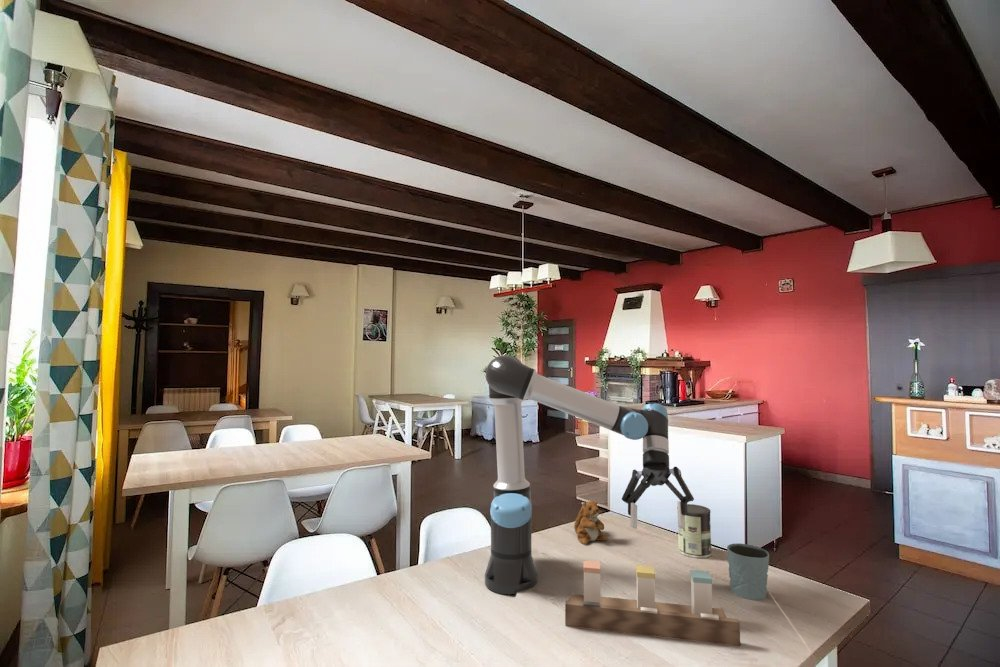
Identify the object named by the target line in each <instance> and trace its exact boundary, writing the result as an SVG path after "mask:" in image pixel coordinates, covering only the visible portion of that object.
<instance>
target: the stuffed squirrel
mask: <svg viewBox="0 0 1000 667" xmlns="http://www.w3.org/2000/svg"><path fill="white" fill-rule="evenodd" d="M598 504H599V502H598V501H597V500H596V501H587V502H585V501H582V502H581V505H582V506H581V508H580V510H579V511H578V514H577V516H576V518H575V521H574V525H573V527H574V532H575V533H576V534H577V535H576V536H577V539H578V540H577V541H578V542H579V543H580V544H582V545H583V544H586V545H587V544H589V542H594V541H599V540H603V541H602V542H606V541H607V540H608V537H607V536H605V535H604V534H602V533H603V531H604V530H605V524H604V523H603V522H602V521H601V520H600V519H599V518H598V517H599V515H600V514H601V516H603V512H602V510H600V509H599V507H598Z"/></svg>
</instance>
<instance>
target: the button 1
mask: <svg viewBox="0 0 1000 667" xmlns="http://www.w3.org/2000/svg"><path fill="white" fill-rule="evenodd" d="M582 568H583V569H582V570H583V595H584V601H588V602H597V603H599V604H601V601H600V596H601V561H594V560H583V567H582Z"/></svg>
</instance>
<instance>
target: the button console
mask: <svg viewBox="0 0 1000 667" xmlns="http://www.w3.org/2000/svg"><path fill="white" fill-rule="evenodd" d="M600 601H601V604H599V603H597V602H588V601H584V594H581V593H571V592H570V593H569V600H565V602H564V606H565V607H564V609H565V610H564V611H565V613H564V615H565V617H564V618H565V620H564V621H565V623H564V624H565V625H564V626H565V627H571V628H578V629H579V628H580V629H589V630H598V631H606V632H607V631H608V632H614V633H615V632H616V633H623V634H632V635H640V636H649V637H658V638H665V639H675V640H676V639H677V640H683V641H692V642H694V641H695V642H701V643H709V644H710V643H711V644H716V645H725V646H726V645H727V646H735V647H741V627H740V626H741V625H740V624H741V623H740V621H739V618H732V617H727V615H726V613H725V611H724V608H719V607H718V608H717V607H712V614H703V613H700V615H697V614H692V605H689V604H680V603H669V602H660V601H655V608H646V607H641V609H639V608H637V599H629V598H621V597H619V598H618V597H607V596H601V595H600Z"/></svg>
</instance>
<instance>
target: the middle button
mask: <svg viewBox="0 0 1000 667" xmlns="http://www.w3.org/2000/svg"><path fill="white" fill-rule="evenodd" d="M635 572H636V574H635V575H636V600H637V608H639V609H641V607H646V608H655V602H656V594H655V593H656V590H655V587H656V586H655V580H656V572H655V569H654V566H653V565H642V564H641V565H639V564H635Z"/></svg>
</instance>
